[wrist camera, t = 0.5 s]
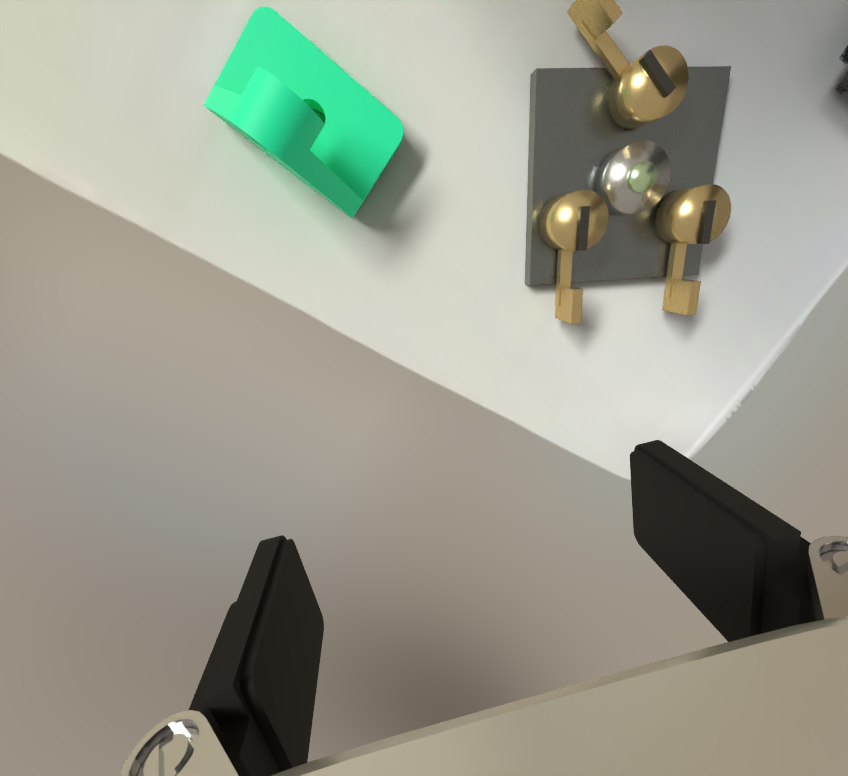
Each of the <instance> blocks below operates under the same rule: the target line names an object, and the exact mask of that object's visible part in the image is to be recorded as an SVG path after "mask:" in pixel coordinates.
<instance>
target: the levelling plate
mask: <svg viewBox="0 0 848 776" xmlns="http://www.w3.org/2000/svg"><path fill="white" fill-rule="evenodd" d="M730 69H731V66H726V67H688V75H689V78H688V86H687V90H686V93H685V95H684V97H683V99H682V101H681V103H680V104H679V105H678V107H677V108H676V109H675V110H674V111H672V112H671V113H670V114H668V115H666V116H664V117H662V118H659V119H657V120H655V121H653V122H650V123H648V124H646V125H644V126H641V127H639V128H635V129H627V128H624V127H621V126H620V125H618V124H617V123H616V122H615V121H614V119H613V118H612V116H611V114H610V111H609V106H608V96H609V90H610V87H611V84H612V82H613V80H614V78H613V76H612V75H611V74H610V72H609V71H608V70H607V68H547V69H536V70H535V71H534V72H533V73H532V74H531V88H530V124H529V159H528V195H527V230H526V266H525V284H526V285H545V284H556V279H557V260H558V250H556V249H553V248H551V247H550V246H548V245H547V244H546V243H545V241H544V240H543V238H542V236H541V233H540V225H539V224H540V217H541V214H542V212H543V210H544V208H545V206H546V205H547V204H548V203H549V202H550V201H551V200H552V199H554V198H555V197H558V196H560V195H564V194H567V193H571V192H575V191H579V190H591V191H594V192H596V193H597V194H599V195H600V196H601V197H602V198H603V200H604V201H605V203H606V205H607V208H608V215H609V217H608V225H607V228H606V231H605V233H604V235H603V236H602V238H601V239H600V240H599V241H598V242H597V243H596V244H595V245H594V246H592V247H590V248H588V249H587V250H585V251H573V256H572V272H571V283H575V282H591V281H606V280H621V279H637V278H652V277H667V269H668V262H669V255H670V247H671V244H670V243H667V242H665V241H664V240H662V239H661V238H660V236H659V235H658V233H657V230H656V226H655V218H656V213H657V210H658V208H659V206H660V204H661V203H662V201H663V200H664V199H665V198H666V197H667V196H668V195H669V194H671V193H672V192H674V191H677V190H681V189H687V188H692V187H697V186H703V185H709V184H712V182H713V176H714V169H715V163H716V157H717V150H718V144H719V138H720V132H721V125H722V119H723V113H724V106H725V100H726V94H727V88H728V81H729V75H730ZM702 245H703V244H687V248H686V254H685V261H684V268H683V275H698V270H699V264H700V257H701V251H702ZM683 275H682V276H683Z"/></svg>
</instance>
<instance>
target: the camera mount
mask: <svg viewBox="0 0 848 776" xmlns="http://www.w3.org/2000/svg"><path fill="white" fill-rule="evenodd" d="M204 106H205V107H207V108H208V109H209V110H210V111H211V112H213V113H214V114H215V115H217V116H218V117H219V118H220V119H222V120H223V121H224V122H226V123H227V124H228V125H230V126H231V127H232V128H234V129H235V130H236V131H238V132H239V133H240V134H242V135H243V136H244V137H245V138H247V139H248V140H249V141H251V142H252V143H253V144H255V145H256V146H257V147H259V148H260V149H261V150H262V151H263V152H265V153H266V154H267V155H269V156H270V157H271V158H273V159H274V160H275V161H277V162H278V163H279V164H281V165H282V166H283V167H285V168H286V169H287V170H288V171H290V172H291V173H292V174H294V175H295V176H296V177H298V178H299V179H300V180H302V181H303V182H304V183H306V184H307V185H308V186H310V187H311V188H312V189H313V190H315V191H317V192H318V193H319V194H321V195H322V196H323V197H324V198H326V199H327V200H328V201H330V202H331V203H332V204H334V205H335V206H336V207H338V208H339V209H340V210H342V211H343V212H344V213H346V214H347V215H348V216H349V217H351V218H352V219H353V217H354V216H355V214H356V212H357V211H358V209H359V208H360V206H361V205H362V203H363V202H364V200H365V198H366V197H367V195H368V194H369V192H370V191H371V189H372V188H373V186H374V184H375V183H376V181H377V180H378V178H379V177H380V175H381V173H382V172H383V170H384V169H385V167H386V166H387V164H388V163H389V161H390V159H391V158H392V156H393V155H394V153H395V152H396V150H397V149H398V147H399V145H400V143H401V141H402V137H403V126H402V123H401V121H400V120H399V119H398V118H397V117H396V116H395V115H394V114H393V113H392V112H391V111H389V110H388V109H387V108H386V107H385V106H384V105H383V104H381V103H380V102H379V101H378V100H377V99H376V98H375V97H373V96H372V95H371V94H370V93H369V92H368V91H367V90H365V89H364V88H363V87H362V86H361V85H360V84H358V83H357V82H356V81H355V80H354V79H353V78H352V77H350V76H349V75H348V74H347V73H346V72H345V71H344V70H342V69H341V68H340V67H339V66H338V65H337V64H336V63H334V62H333V61H332V60H331V59H330V58H329V57H328V56H326V55H325V54H324V53H323V52H322V51H321V50H320V49H318V48H317V47H316V46H315V45H314V44H313V43H311V42H310V41H309V40H308V39H307V38H306V37H305V36H303V35H302V34H301V33H300V32H299V31H298V30H297V29H295V28H294V27H293V26H292V25H291V24H290V23H289V22H287V21H286V20H285V19H284V18H283V17H282V16H281V15H279V14H278V13H277V12H276V11H275V10H273V9H272V8H269V7H259V8H257V9H256V10H255V11H254V12H253V13H252V15H251V17H250V19H249V21H248V23H247V25H246V26H245V28H244V30H243V32H242V34H241V36H240V38H239V40H238V42H237V43H236V45H235V47H234V49H233V51H232V53H231V55H230V57H229V58H228V60H227V62H226V64H225V66H224V68H223V70H222V72H221V74H220V75H219V77H218V79H217V81H216V83H215V85H214V87H213V89H212V91H211V92H210V94H209V96H208V98H207V100H206V102H205V104H204ZM313 110H317V111H319V112H321V113H322V114H323V115H324V116H325V125H324V123H323V121H322V120H321V119H320V117H319V116H318V115H317V114H316V113H315V112H314V111H313Z"/></svg>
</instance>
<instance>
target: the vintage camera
mask: <svg viewBox="0 0 848 776" xmlns="http://www.w3.org/2000/svg"><path fill="white" fill-rule="evenodd" d="M839 59H841V60H842V61H843V62H844V63H845V64H846V65H847V66H848V46H847V47H846V49H845V50H844V52H843V53H842V55H841V56H840V58H839ZM835 89H836V90H837V91H838V92H839V93H840V94H841V93H843V92H846V91H848V82H847V83H843V84H841V85H839V86H837V87H836V88H835Z"/></svg>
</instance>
